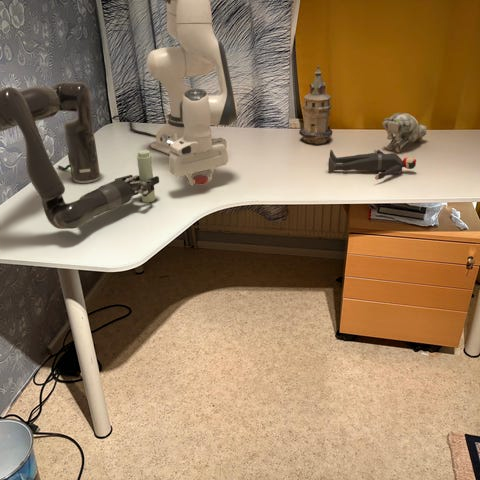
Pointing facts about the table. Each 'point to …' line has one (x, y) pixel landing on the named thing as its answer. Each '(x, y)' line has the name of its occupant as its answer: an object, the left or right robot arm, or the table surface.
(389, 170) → the toy
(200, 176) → the lid
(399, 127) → the figurine
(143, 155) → the olive green cylinder
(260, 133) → the table surface
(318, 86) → the miniature building
